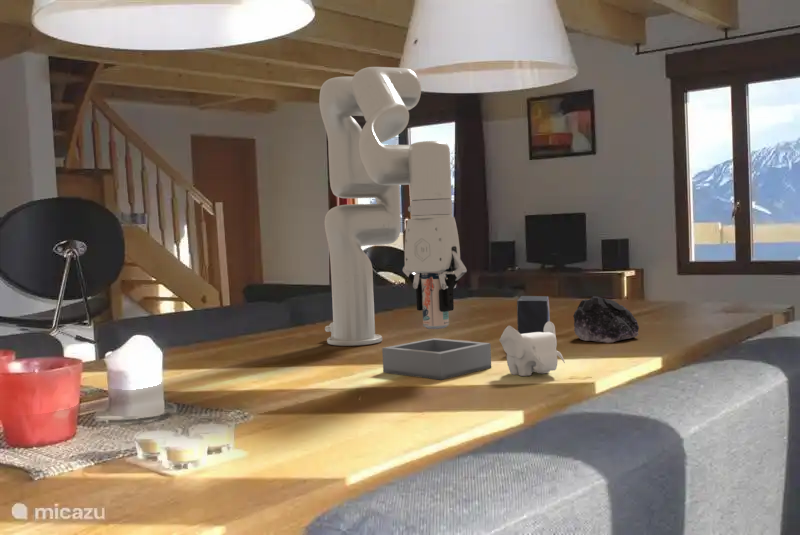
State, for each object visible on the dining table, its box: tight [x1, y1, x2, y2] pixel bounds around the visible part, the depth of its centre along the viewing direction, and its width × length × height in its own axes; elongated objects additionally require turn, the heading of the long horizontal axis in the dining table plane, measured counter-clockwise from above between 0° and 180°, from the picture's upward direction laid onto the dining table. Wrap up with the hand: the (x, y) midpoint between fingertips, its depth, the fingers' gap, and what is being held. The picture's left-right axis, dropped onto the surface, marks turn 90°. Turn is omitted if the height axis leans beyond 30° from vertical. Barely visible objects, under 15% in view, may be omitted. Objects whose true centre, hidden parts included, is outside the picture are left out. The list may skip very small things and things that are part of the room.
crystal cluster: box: [573, 295, 640, 343], centre depth 190 cm, size 13×14×10 cm
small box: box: [516, 295, 551, 334], centre depth 181 cm, size 11×6×10 cm, turn 168°
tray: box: [381, 337, 492, 381], centre depth 158 cm, size 14×14×4 cm
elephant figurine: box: [499, 320, 565, 377], centre depth 150 cm, size 10×12×9 cm
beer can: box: [421, 270, 450, 330], centre depth 158 cm, size 5×5×12 cm
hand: (435, 309), depth 158 cm, fingers closed on beer can, 4 cm apart
